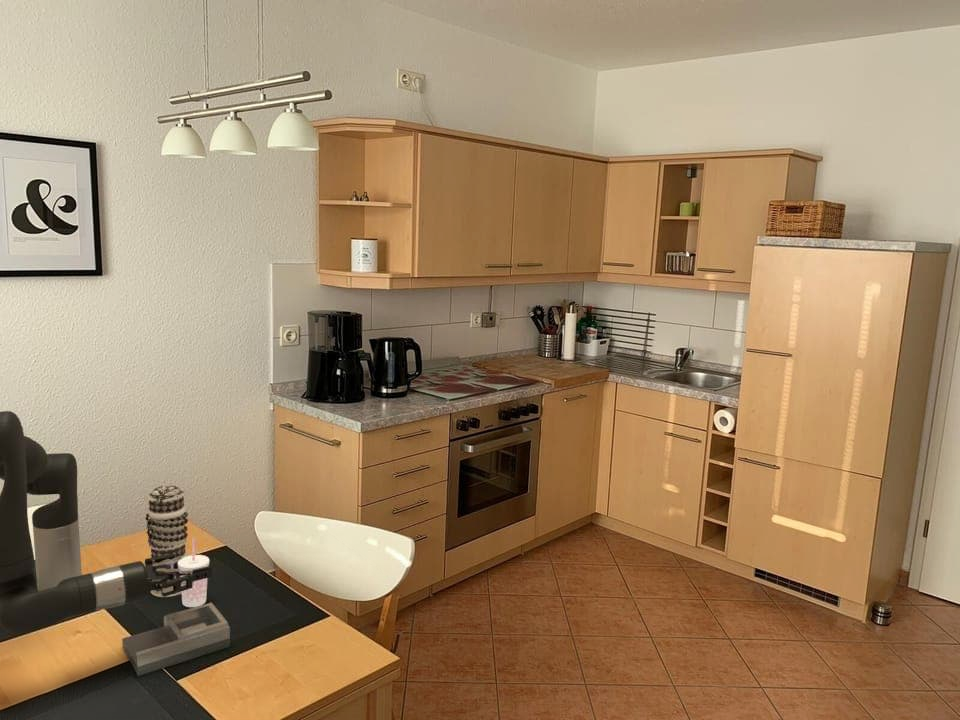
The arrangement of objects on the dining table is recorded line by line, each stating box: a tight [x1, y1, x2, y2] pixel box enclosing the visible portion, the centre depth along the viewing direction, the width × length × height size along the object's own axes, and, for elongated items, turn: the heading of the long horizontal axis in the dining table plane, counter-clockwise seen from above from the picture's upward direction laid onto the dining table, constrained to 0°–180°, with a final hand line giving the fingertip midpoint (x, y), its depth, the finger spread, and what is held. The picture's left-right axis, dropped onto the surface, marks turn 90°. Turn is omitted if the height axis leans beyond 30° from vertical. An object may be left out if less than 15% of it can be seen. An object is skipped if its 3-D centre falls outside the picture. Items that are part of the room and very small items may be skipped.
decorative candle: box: [145, 485, 189, 598], centre depth 176 cm, size 9×9×25 cm
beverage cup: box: [178, 537, 210, 608], centre depth 154 cm, size 6×6×14 cm
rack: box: [121, 602, 231, 677], centre depth 154 cm, size 12×18×5 cm, turn 128°
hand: (205, 565), depth 155 cm, fingers closed on beverage cup, 6 cm apart
